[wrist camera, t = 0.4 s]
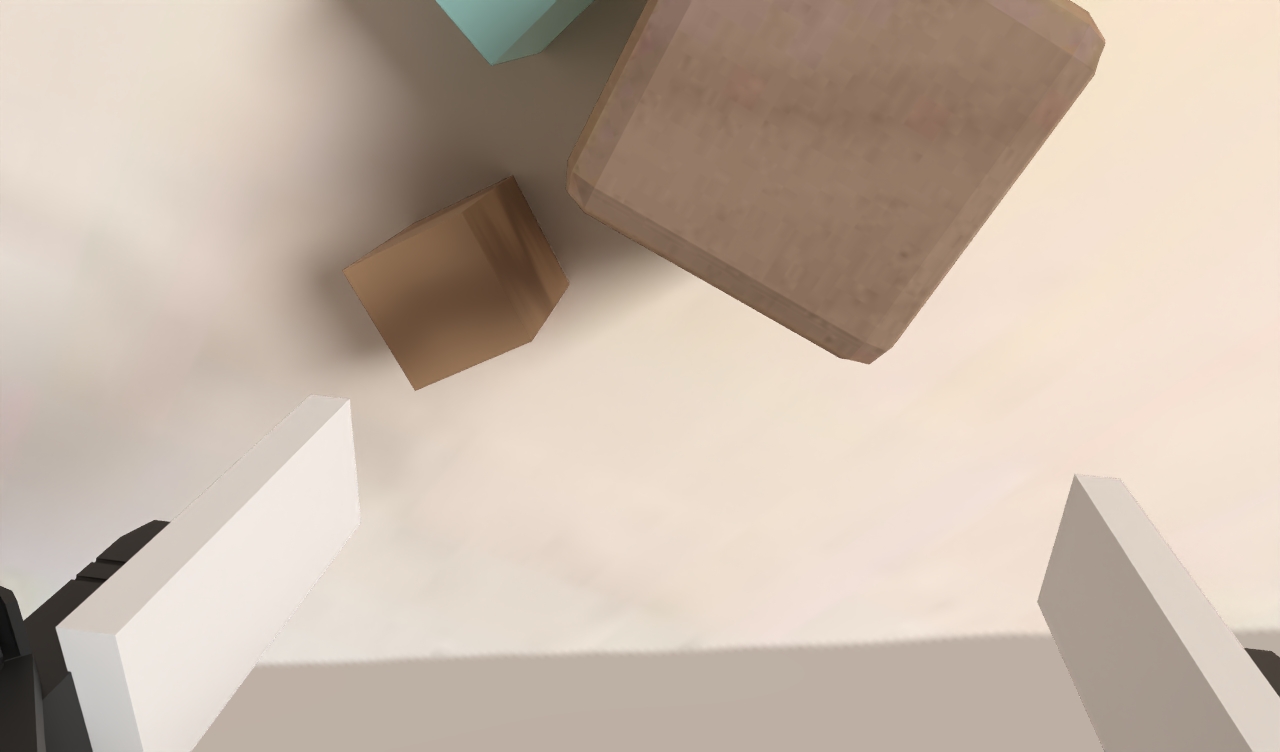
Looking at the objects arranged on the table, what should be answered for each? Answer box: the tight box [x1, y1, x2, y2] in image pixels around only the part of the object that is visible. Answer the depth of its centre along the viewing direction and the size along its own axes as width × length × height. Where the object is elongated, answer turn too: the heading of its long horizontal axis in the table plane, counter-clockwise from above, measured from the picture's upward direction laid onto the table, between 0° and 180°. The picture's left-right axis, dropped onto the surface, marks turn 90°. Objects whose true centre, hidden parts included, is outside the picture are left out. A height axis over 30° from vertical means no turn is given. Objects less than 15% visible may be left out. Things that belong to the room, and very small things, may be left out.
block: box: [566, 0, 1105, 364], centre depth 30 cm, size 10×10×20 cm
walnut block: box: [342, 175, 569, 391], centre depth 41 cm, size 6×6×8 cm
